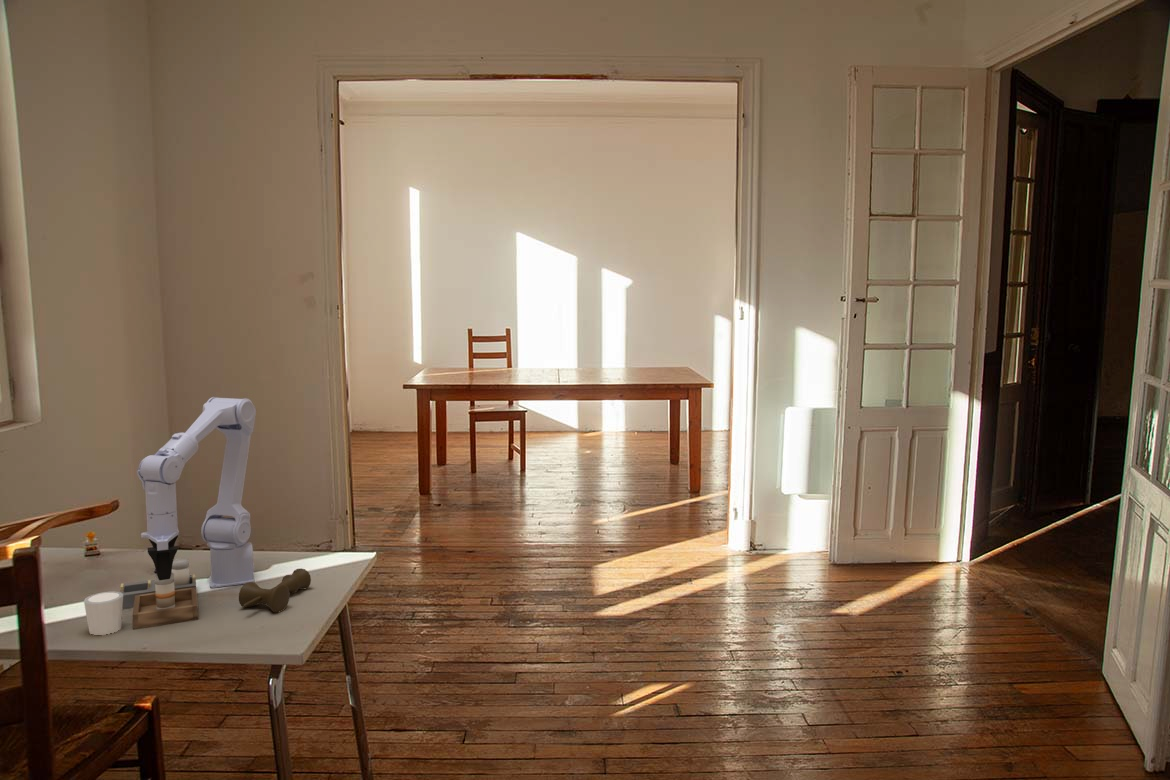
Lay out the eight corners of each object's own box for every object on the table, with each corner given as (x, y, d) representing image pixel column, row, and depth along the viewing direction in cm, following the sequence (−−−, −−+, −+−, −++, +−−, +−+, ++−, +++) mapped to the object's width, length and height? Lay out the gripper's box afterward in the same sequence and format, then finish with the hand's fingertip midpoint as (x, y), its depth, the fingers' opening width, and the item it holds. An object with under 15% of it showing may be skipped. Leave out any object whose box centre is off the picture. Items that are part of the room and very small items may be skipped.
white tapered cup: (96, 639, 159) (95, 605, 158) (78, 631, 162) (77, 598, 161) (131, 628, 164) (130, 595, 164) (113, 620, 168) (112, 588, 167)
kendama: (321, 592, 187) (262, 622, 168) (286, 588, 190) (225, 617, 171) (320, 567, 187) (262, 594, 168) (285, 563, 190) (224, 590, 171)
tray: (196, 599, 180) (196, 587, 179) (198, 619, 169) (197, 605, 169) (135, 608, 174) (134, 595, 174) (133, 629, 164) (132, 615, 163)
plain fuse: (190, 590, 185) (188, 557, 184) (190, 596, 182) (189, 562, 181) (172, 593, 184) (171, 559, 183) (172, 598, 180) (171, 564, 180)
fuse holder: (195, 586, 188) (195, 570, 187) (196, 598, 181) (195, 581, 180) (122, 596, 181) (121, 579, 180) (120, 609, 174) (119, 591, 173)
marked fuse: (175, 606, 174) (174, 571, 173) (175, 613, 171) (174, 576, 170) (156, 609, 172) (154, 573, 171) (155, 615, 169) (154, 579, 168)
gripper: (141, 505, 174) (144, 565, 175) (138, 522, 161) (142, 587, 163) (177, 501, 177) (180, 561, 179) (178, 518, 164) (180, 582, 166)
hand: (164, 573), depth 171 cm, fingers open, 7 cm apart
